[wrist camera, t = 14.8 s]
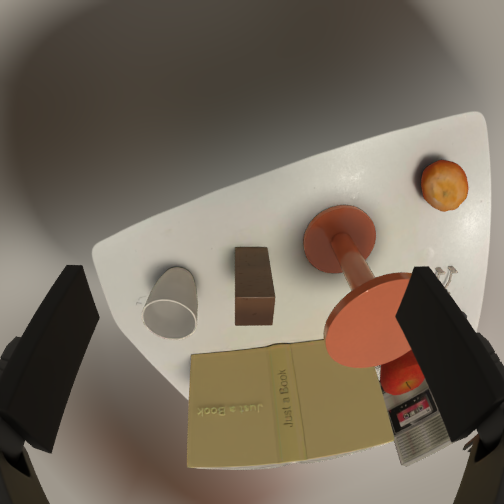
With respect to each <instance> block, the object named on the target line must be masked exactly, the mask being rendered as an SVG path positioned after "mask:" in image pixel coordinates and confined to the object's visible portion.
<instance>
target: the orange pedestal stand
mask: <svg viewBox="0 0 504 504" xmlns="http://www.w3.org/2000/svg"><path fill="white" fill-rule="evenodd" d="M375 240H376V230H375V226H374V224H373V222H372V220H371V219H370V217H369V216H368V215H367V214H366V213H365V212H364V211H363V210H361V209H359V208H357V207H354V206H350V205H339V206H334V207H331V208H328V209H326V210H324V211H322V212H321V213H319V214H318V215H317V216H316V217H315V218H314V219H313V220H312V221H311V222H310V224H309V225H308V227H307V229H306V231H305V234H304V239H303V247H304V252H305V254H306V257H307V259H308V261H309V262H310V263H311V264H312V265H313V266H314V267H315V268H317V269H318V270H321V271H323V272H327V273H342V272H343V274H344V276H345V278H346V280H347V282H348V284H349V287H350V289H351V292H350V293H349V294H347V295H346V296H345V297H344V298H343V299H342V300H341V301H340V302H339V303H338V304H337V305H336V306H335V307H334V309H333V310H332V312H331V313H330V315H329V317H328V319H327V321H326V324H325V327H324V342H325V346H326V350H327V352H328V354H329V355H330V357H331V358H332V359H333V360H334V361H336V362H337V363H339V364H341V365H344V366H347V367H352V368H368V367H374V366H378V365H382V364H385V363H388V362H390V361H392V360H395V359H397V358H399V357H400V356H402V355H404V354H405V353H407V352H408V351H410V350H411V347H410V345H409V343H408V341H407V339H406V337H405V335H404V333H403V331H402V329H401V327H400V325H399V323H398V321H397V319H396V317H395V316H396V313H397V311H398V308H399V306H400V303H401V301H402V298H403V296H404V293H405V291H406V288H407V286H408V283H409V280H410V277H411V275H412V273H402V272H400V273H391V274H386V275H383V276H379V277H376V278H375V276H374V274H373V273H372V271H371V269H370V268H369V266H368V264H367V262H366V261H365V260H366V259H367V257H368V256H369V255H370V253H371V251H372V249H373V247H374V244H375Z"/></svg>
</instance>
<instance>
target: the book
mask: <svg viewBox="0 0 504 504" xmlns="http://www.w3.org/2000/svg"><path fill="white" fill-rule="evenodd" d="M188 411H189V412H188V442H187V443H188V445H187V467H194V468H201V469H234V470H235V469H236V470H239V469H240V470H241V469H267V468H275V467H281V466H285V465H288V464H291V463H293V462H295V463H315V462H321V461H326V460H331V459H335V458H339V457H343V456H347V455H351V454H354V453H358V452H361V451H365V450H368V449H371V448H374V447H378V446H381V445H384V444H387V443H389V442H392V441H394V440H395V439H394V435H393V431H392V427H391V423H390V419H389V415H388V412H387V408H386V404H385V401H384V397H383V394H382V390H381V387H380V383H379V380H378V377H377V373H376V370H375V367H368V368H352V367H347V366H344V365H341V364H339V363H337V362H336V361H334V360H333V359H332V358H331V357H330V355H329V354H328V352H327V350H326V346H325V342H324V340H318V341H310V342H303V343H294V344H291V345H290V344H278V345H272V346H269V347H264V348H256V349H247V350H238V351H229V352H219V353H207V354H195V355H191V369H190V388H189V410H188Z"/></svg>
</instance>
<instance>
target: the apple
mask: <svg viewBox="0 0 504 504" xmlns="http://www.w3.org/2000/svg"><path fill="white" fill-rule="evenodd" d="M424 379H425V377H424V375H423V373H422V371H421V369H420V366H419V364H418V362H417V360H416V358H415V356H414V354H413V352H412V350H410V351H408V352H407V353H405V354H404V355H402V356H400V357H399V358H397V359H395V360H392V361H390V362H388V363H385V364H382V365H381V370H380V382H381V385H382V387H383V389H384V391H385V392H386V393H389V394H391V395H401V394H404V393H407V392H409V391H411V390H414V389H415V388H417V387H418V386H420V384H421V383H422V382H423V381H424Z"/></svg>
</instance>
